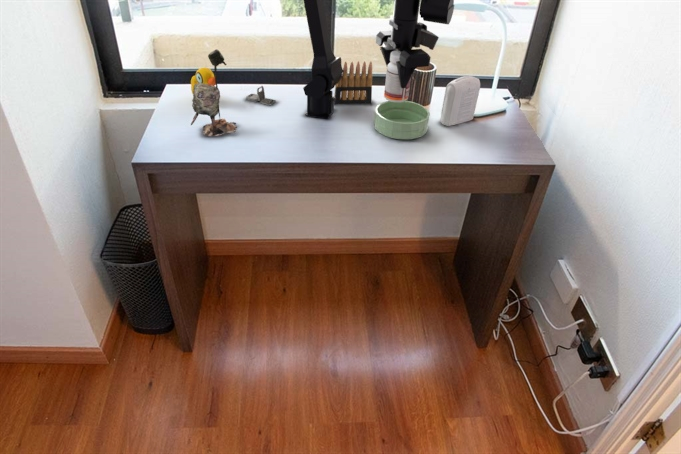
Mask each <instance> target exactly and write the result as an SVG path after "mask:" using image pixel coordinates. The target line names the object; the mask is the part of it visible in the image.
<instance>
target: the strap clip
mask: <svg viewBox="0 0 681 454" xmlns="http://www.w3.org/2000/svg"><path fill="white" fill-rule="evenodd" d="M260 89H261V90H260ZM246 100H248V101H250V102H254V103H257V102H260V104H263V105H266V106H273V105H274V104H275V103H276V102H277V100H276V99H271V98H268V97H267V98H266V94H265V88H264V86H263V85H260V86H259V87H257V88H256V93H250V94H248V95H247V96H246Z"/></svg>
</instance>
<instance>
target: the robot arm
mask: <svg viewBox="0 0 681 454" xmlns="http://www.w3.org/2000/svg"><path fill="white" fill-rule="evenodd" d="M303 5H304V10H305V16H306V22H307V26H308V27H307V28H308V32H309V37H310V42H311V43H310V44H311V48H312V53H313V54H312V55H313V57H312V58H313V59H312V64H311V80H310V82H309V81H308V83H307V84H305V85H304V86H303V88H302V89H303V92H304V95H305V96H306V111H305V112H304V116H305V117H312V118H319V119H325V120H328V119H329V118H330V117H331V115H332V114H333V112H334V111H335V103H334V96H333V89H335V85H336V84H337V83H338V82H339V81H340V80H341V81H342V75H343V72H344V71H343V65H342V57H341V56H338V57H336V55H335V54H334V52H333V50H332V44H331V39H330V33H329V26H328V21H327V14H326V9H325V2H324V0H303ZM454 9H455V0H394V3H393V13H392V19H389V20H388V21H389V22H388V25H390V26H391V30H380V31H379V32H378V33H377V34H376V36H375V44H377V46H379V50H380V52H381V54H382V58H383V60H384V62H385V65H386V67H387V65H388V64H389V63H390V62H391V61H390V54H391V52H392V51H396V50H397V51H398V52H401V54H400V57H399V60H400V61H396V64H397V70H398V75H399V80H400V85H401V88H406V86H407V84H408V82H409V80H410V78H411V79H412V76H413V74H414V72H415V71H416V69H417V68H424V67H425V68H427V67H429V66H430V65H431V58H432V57H431V56H430V55H429V54H428V52H426V51H425V50H424V49H422V48H421V46H423V47H425V48H428V49H429V50H431V51H433V50H434V49H435V47H436V44H437V42H438V40H439V38H440V37H439V36H438V35H436V34H435V33H433V32H432V31H430V30H428V26H427V24H425V23H423V22H420V21H419V15H420V18H421V19H422V20H423V21H424V22H430V23H435V24H436V23H437V24H443V25H450V23H451V21H452V18H453V15H454V11H455V10H454ZM418 21H419V22H418ZM414 48H415V49H414Z"/></svg>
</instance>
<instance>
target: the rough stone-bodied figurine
mask: <svg viewBox="0 0 681 454" xmlns="http://www.w3.org/2000/svg"><path fill="white" fill-rule="evenodd" d="M207 57H208V60H209V62H210V64H211V65H212V66H213V69H214V77H215V83H216V85H214V86H212V85H207V84H203V83H198V84H195V85H194V87H193V94H192V99H191V102H192V104H191V106H192V110H193V111H194V113H195V114H194V116H193V118H192V120H191V122H190V126H193V125H194V123H195V121H197V119H198V116H199V115H203V116H208V117H209V118H210V120H211V123H205V124H203V125H202V133H203V136H204V137H217V136H221V135H223V134H228V133H232V134H235V133H236V132H237V131H236V130H237V128H238V126H237V122H234V121H233V122H231V121H230V122H228V121H227V120H226V119H225V118H221V113H220V112H221V111H220V99H221V91H220V89H219V87H218V78H217V77H218V76H217V74H218V73H217V71H218V69H217V67H218V66H220V65H222V64H223V65H224V66H227V63H226V61H225V57H224V55H223V54H222V53H221V51H220V50H219V49H214V50H213V51H211V52H210V53H208V55H207ZM217 115H218V117H219V119H216V116H217Z"/></svg>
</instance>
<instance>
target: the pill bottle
mask: <svg viewBox="0 0 681 454" xmlns="http://www.w3.org/2000/svg"><path fill="white" fill-rule="evenodd" d="M400 54H401V52H398V51H397V50H396V51H392V52H391V54H390V61H391V62H390V63H389V64H388V65H387V66H386V73H385V80H384V81H385V83H384V92H383V95H384V96H383V97H384V99H385V100H386V101H391V102H404V101H408V100H409V95H410V88H411V83H412V82H411V80H412V77H411V78H410V80H409V82H408V84H407V86H406V88H401V85H400V80H399V75H398V70H397V64H396V61H400V60H399V57H400Z"/></svg>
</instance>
